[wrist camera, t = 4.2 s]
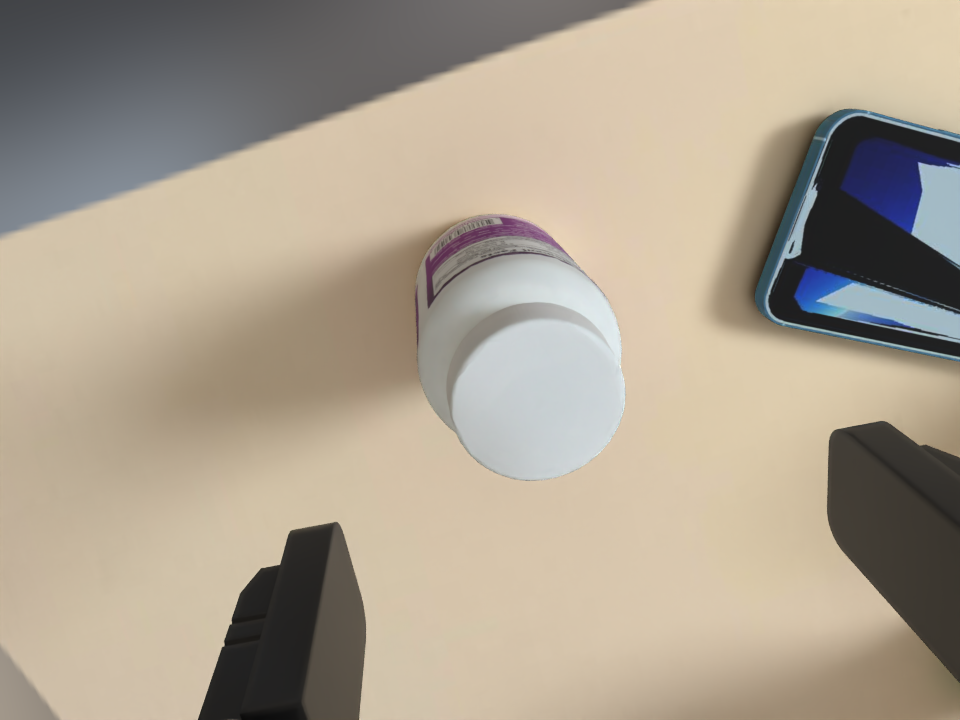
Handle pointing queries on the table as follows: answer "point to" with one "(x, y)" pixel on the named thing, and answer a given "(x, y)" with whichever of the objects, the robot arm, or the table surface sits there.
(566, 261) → the pill bottle
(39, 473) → the table surface
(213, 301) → the table surface
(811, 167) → the smartphone
